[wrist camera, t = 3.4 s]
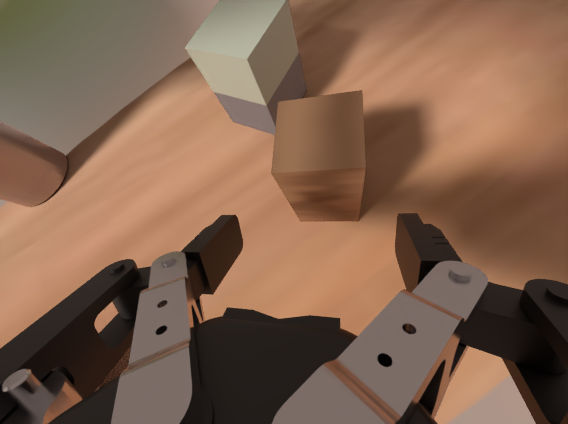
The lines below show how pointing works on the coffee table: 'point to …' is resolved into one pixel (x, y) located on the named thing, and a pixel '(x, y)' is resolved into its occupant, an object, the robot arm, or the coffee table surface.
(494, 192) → the coffee table surface
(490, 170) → the coffee table surface
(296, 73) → the tower base
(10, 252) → the coffee table surface
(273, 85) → the tower top
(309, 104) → the walnut block
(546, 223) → the coffee table surface
